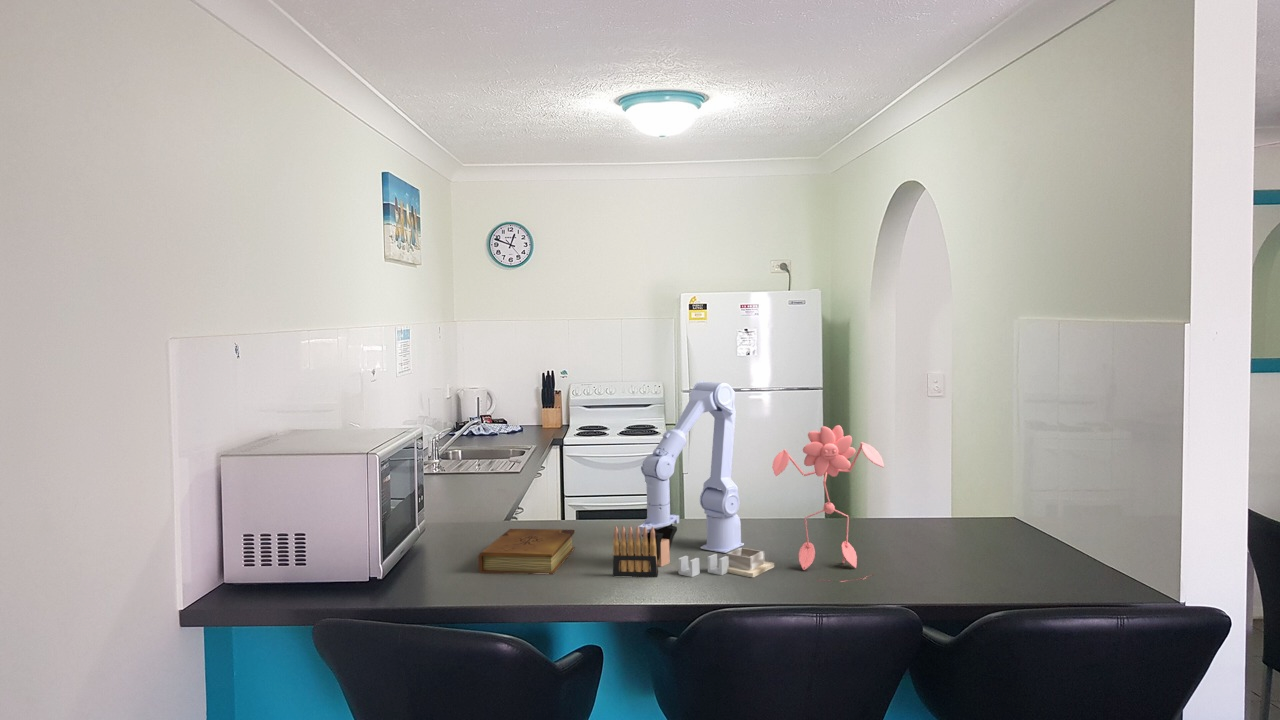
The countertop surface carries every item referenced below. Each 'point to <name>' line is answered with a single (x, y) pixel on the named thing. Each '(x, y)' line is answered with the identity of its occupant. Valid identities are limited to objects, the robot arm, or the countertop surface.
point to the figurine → (831, 458)
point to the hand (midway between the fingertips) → (659, 557)
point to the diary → (527, 551)
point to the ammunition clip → (635, 554)
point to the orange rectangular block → (664, 553)
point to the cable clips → (694, 569)
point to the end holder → (747, 562)
